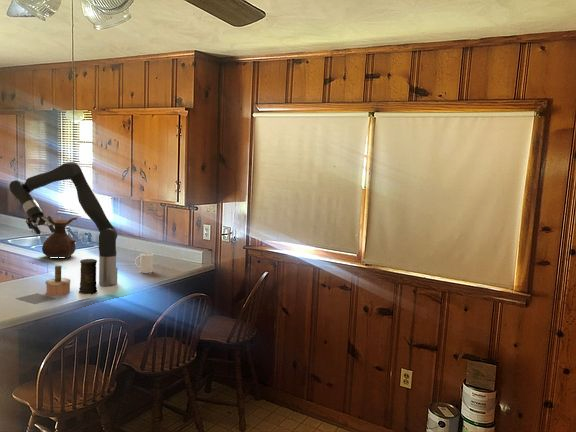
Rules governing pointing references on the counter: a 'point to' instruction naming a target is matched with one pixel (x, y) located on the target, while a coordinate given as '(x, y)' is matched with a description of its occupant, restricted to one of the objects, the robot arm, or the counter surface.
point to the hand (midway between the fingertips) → (46, 232)
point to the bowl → (58, 289)
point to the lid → (57, 278)
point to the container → (88, 276)
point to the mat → (36, 298)
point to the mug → (145, 262)
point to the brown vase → (59, 240)
